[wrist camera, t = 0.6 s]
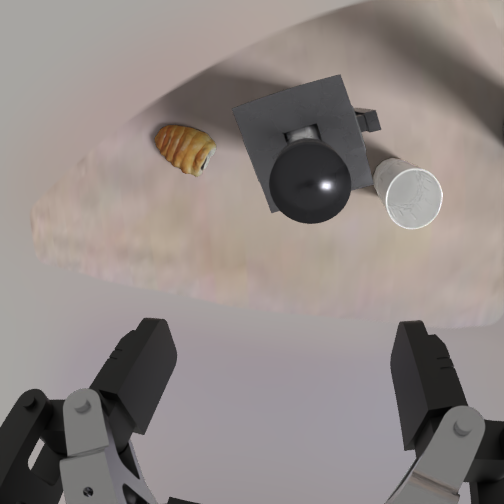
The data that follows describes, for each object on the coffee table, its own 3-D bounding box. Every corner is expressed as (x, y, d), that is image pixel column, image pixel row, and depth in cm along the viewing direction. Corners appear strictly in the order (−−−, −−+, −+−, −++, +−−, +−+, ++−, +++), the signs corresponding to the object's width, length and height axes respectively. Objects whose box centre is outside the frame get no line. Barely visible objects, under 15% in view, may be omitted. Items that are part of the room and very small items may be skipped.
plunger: (332, 88, 24) (370, 73, 11) (358, 171, 27) (411, 242, 14) (248, 115, 26) (192, 130, 13) (277, 194, 29) (256, 282, 16)
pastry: (153, 151, 46) (142, 155, 43) (169, 113, 43) (159, 115, 40) (203, 177, 47) (195, 183, 44) (222, 139, 44) (215, 142, 41)
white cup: (377, 210, 45) (393, 237, 37) (362, 162, 42) (377, 179, 34) (421, 195, 43) (447, 218, 34) (409, 147, 40) (435, 160, 31)
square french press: (341, 81, 37) (371, 66, 21) (363, 146, 41) (402, 177, 25) (257, 106, 41) (228, 109, 24) (281, 170, 45) (269, 214, 28)
